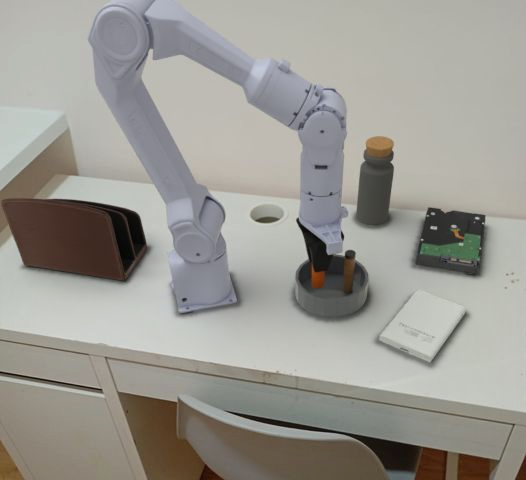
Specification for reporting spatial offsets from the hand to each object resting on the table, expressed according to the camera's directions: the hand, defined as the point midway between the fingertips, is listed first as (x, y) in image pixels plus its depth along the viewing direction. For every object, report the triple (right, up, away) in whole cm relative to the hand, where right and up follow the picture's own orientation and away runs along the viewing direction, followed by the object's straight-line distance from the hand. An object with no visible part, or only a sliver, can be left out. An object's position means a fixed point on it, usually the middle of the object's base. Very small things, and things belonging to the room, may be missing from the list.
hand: (318, 265), depth 89 cm
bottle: (+12, +12, +20) cm, 26 cm away
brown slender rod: (+5, -3, +5) cm, 8 cm away
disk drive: (+24, +5, +13) cm, 28 cm away
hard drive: (+16, -10, -1) cm, 18 cm away
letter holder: (-40, +4, +15) cm, 43 cm away
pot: (+2, -4, +5) cm, 7 cm away
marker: (0, -3, +3) cm, 4 cm away
